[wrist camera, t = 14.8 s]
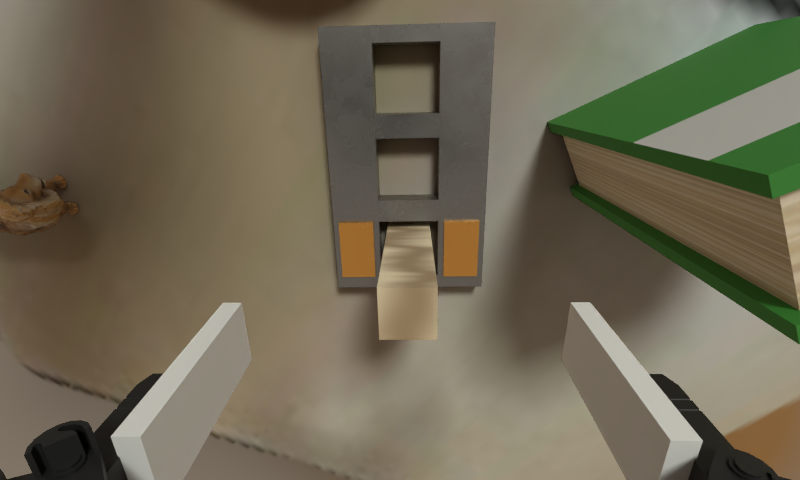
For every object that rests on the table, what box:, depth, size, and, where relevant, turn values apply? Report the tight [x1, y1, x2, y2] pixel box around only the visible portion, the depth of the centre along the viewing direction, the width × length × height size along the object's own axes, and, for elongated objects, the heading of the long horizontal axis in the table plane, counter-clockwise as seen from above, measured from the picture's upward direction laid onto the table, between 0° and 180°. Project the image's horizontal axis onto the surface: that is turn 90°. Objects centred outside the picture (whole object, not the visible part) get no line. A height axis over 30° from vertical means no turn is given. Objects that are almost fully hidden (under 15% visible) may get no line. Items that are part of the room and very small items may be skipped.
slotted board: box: [318, 22, 495, 287], centre depth 37 cm, size 14×23×2 cm, turn 1°
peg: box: [377, 222, 438, 340], centre depth 34 cm, size 4×4×14 cm
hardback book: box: [547, 16, 800, 344], centre depth 25 cm, size 18×7×24 cm, turn 116°
